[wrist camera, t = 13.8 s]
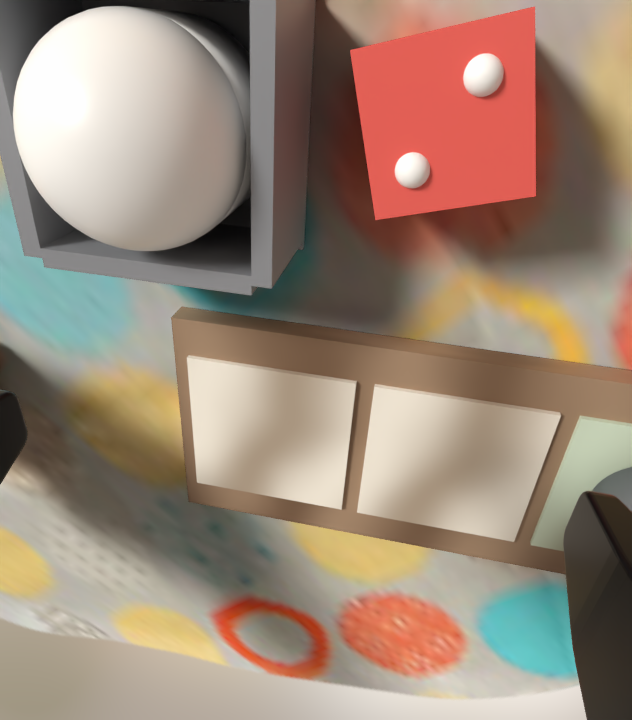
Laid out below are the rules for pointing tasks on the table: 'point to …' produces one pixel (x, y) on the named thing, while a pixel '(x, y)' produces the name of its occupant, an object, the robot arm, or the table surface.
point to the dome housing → (268, 151)
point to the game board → (395, 434)
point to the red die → (450, 115)
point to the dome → (137, 125)
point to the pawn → (618, 486)
